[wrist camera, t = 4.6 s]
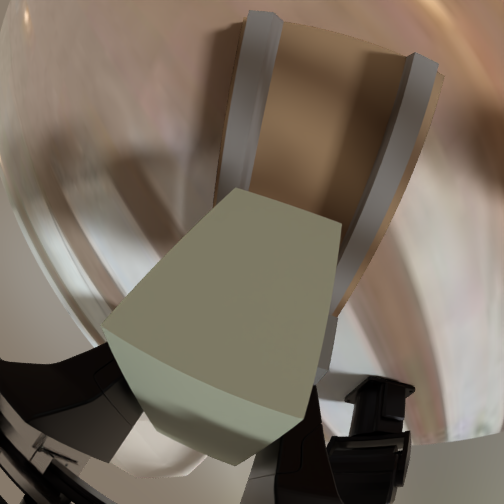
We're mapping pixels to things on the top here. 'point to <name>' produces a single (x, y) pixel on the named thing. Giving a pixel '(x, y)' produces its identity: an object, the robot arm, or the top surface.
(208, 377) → the sage green box
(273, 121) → the track board
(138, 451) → the ball
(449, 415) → the top surface
